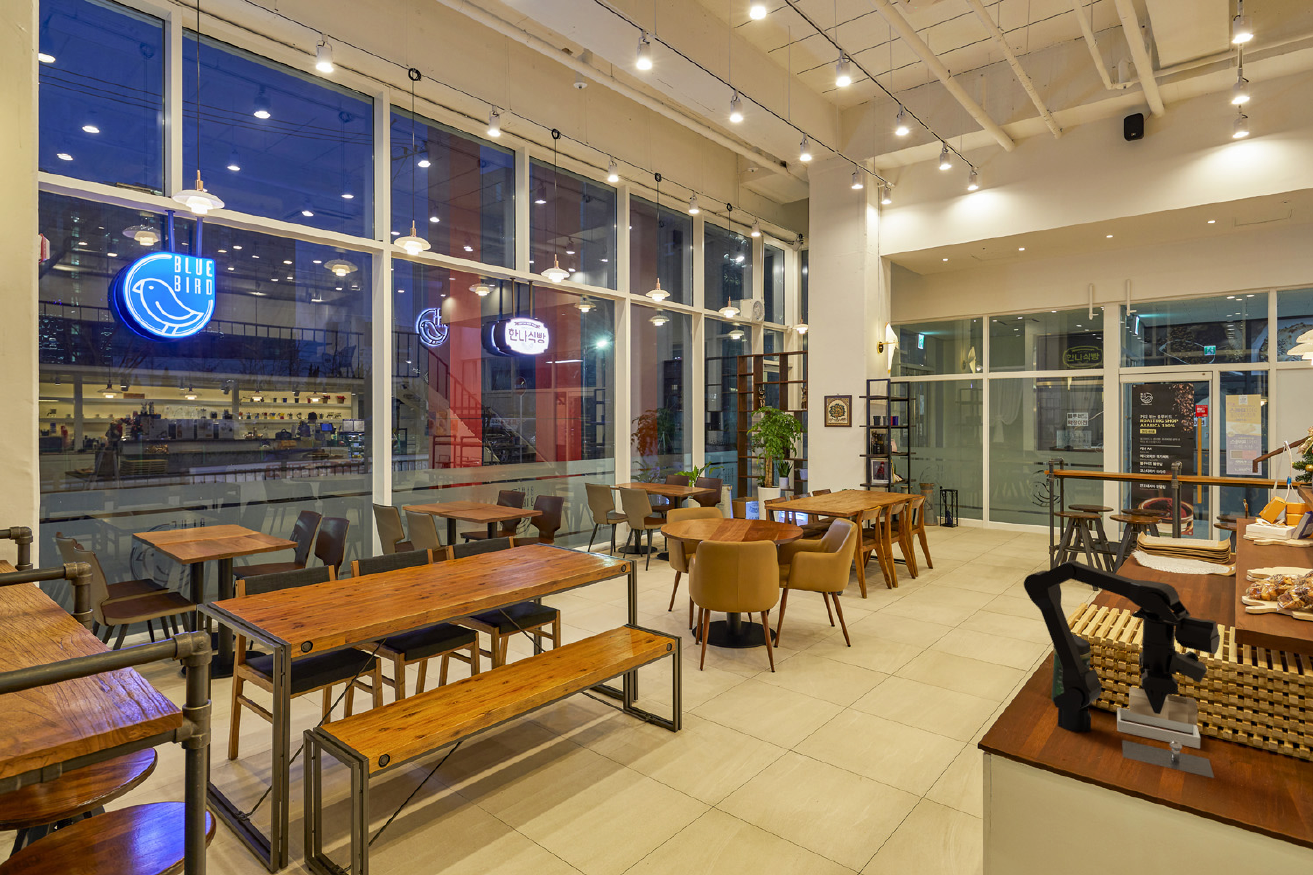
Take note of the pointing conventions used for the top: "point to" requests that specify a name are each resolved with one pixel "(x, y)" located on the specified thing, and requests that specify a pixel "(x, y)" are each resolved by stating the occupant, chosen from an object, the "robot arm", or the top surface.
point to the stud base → (1168, 757)
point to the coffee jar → (1057, 669)
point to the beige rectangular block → (1164, 707)
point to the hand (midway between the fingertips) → (1156, 708)
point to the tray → (1156, 732)
